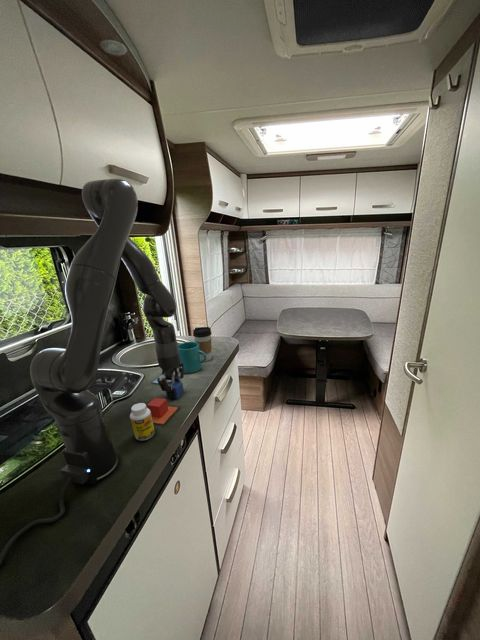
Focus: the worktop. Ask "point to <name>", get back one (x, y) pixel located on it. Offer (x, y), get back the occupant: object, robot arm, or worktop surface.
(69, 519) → the worktop surface
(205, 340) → the coffee cup
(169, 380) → the blue coaster
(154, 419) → the orange coaster
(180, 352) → the cup
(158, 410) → the red block
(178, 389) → the blue block
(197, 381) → the worktop surface
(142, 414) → the supplement bottle
